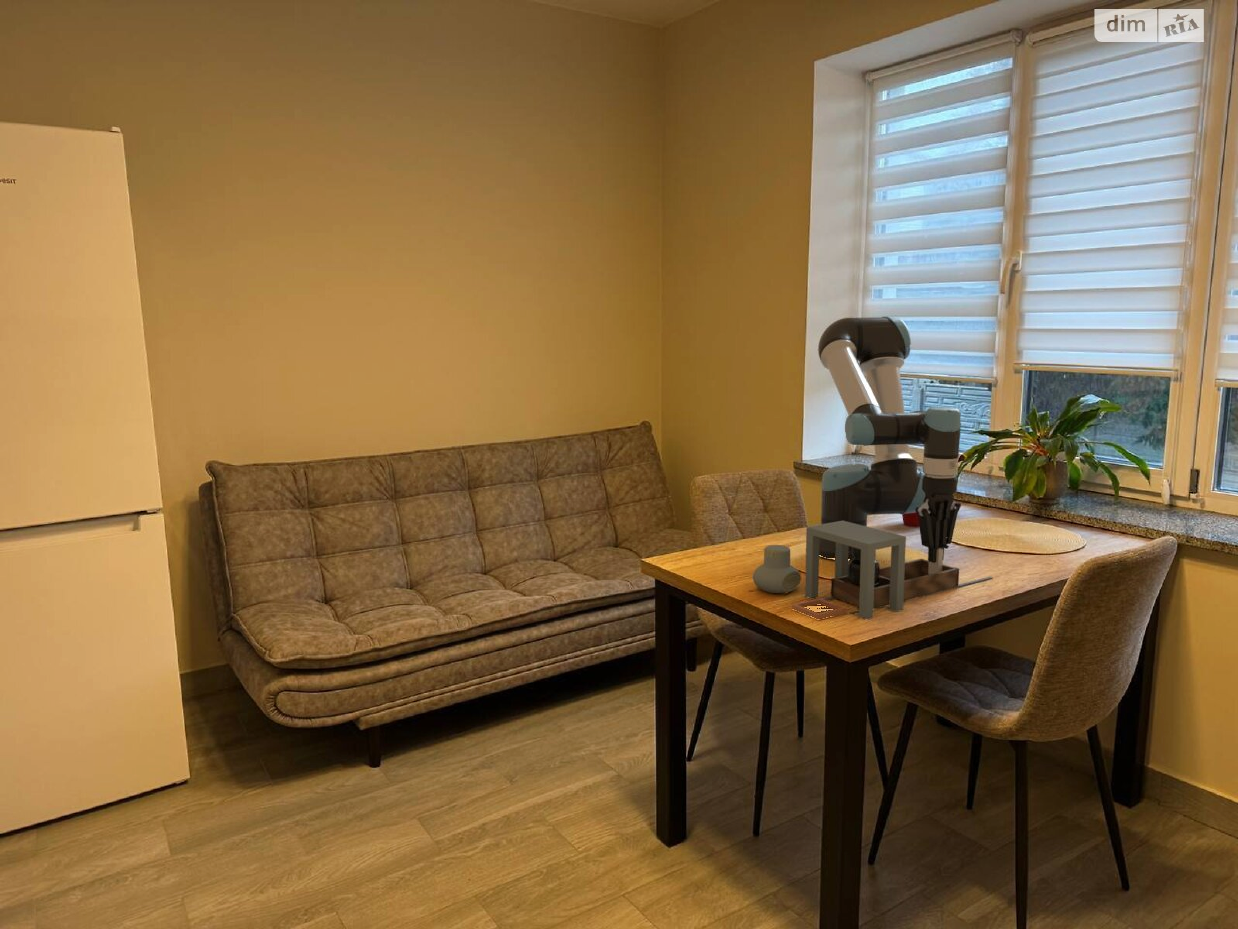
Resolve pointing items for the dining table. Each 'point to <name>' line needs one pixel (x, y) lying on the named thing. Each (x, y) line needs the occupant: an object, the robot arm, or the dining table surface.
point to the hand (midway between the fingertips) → (934, 574)
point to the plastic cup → (911, 519)
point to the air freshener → (776, 571)
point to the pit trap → (819, 615)
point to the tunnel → (868, 543)
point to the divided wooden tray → (911, 586)
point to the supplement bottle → (854, 569)
